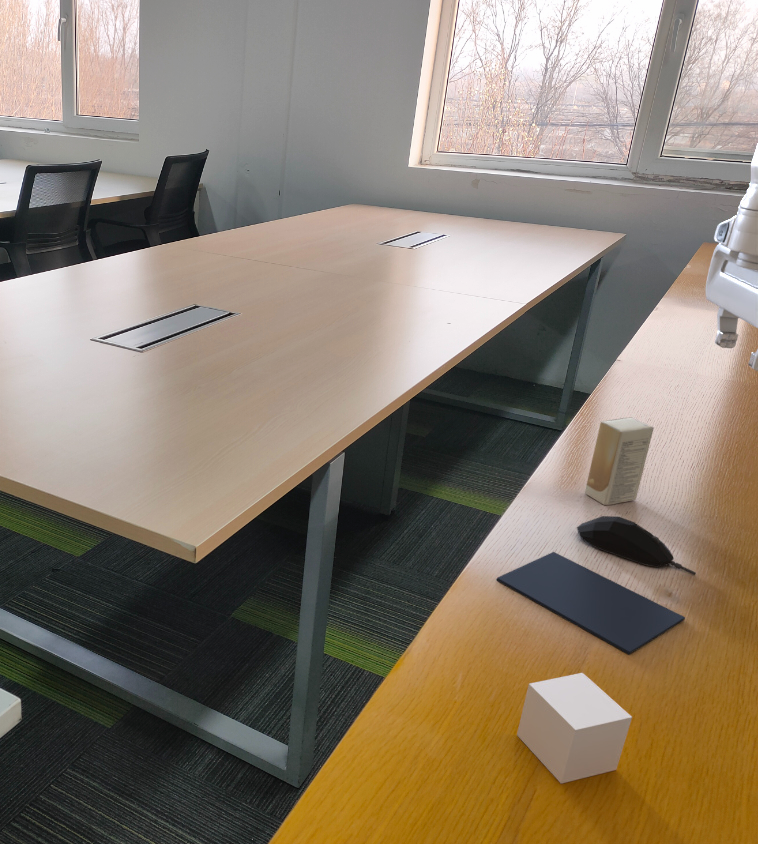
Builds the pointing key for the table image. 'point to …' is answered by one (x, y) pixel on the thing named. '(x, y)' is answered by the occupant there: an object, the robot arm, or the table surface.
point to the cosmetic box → (618, 460)
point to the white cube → (573, 727)
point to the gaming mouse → (627, 541)
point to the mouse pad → (592, 601)
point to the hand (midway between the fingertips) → (740, 357)
